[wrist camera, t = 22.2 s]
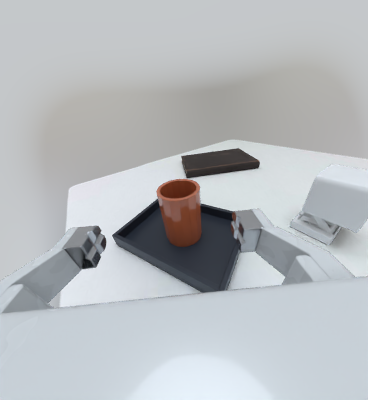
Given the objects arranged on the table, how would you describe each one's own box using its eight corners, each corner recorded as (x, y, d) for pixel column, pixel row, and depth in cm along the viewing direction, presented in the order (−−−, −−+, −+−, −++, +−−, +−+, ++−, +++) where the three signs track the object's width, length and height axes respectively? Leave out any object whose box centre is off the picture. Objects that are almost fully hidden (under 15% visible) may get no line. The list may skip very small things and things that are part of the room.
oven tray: (116, 244, 26) (111, 235, 25) (164, 202, 36) (163, 194, 35) (222, 303, 17) (223, 293, 16) (248, 225, 27) (250, 215, 26)
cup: (159, 239, 26) (147, 194, 21) (178, 217, 30) (172, 176, 25) (191, 252, 23) (185, 204, 18) (207, 226, 27) (206, 182, 22)
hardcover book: (181, 161, 60) (181, 156, 58) (237, 154, 60) (238, 148, 59) (187, 178, 46) (186, 171, 45) (258, 168, 47) (260, 161, 46)
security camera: (341, 253, 21) (388, 192, 15) (287, 227, 26) (308, 173, 20) (355, 231, 24) (398, 173, 18) (304, 211, 29) (326, 161, 23)
